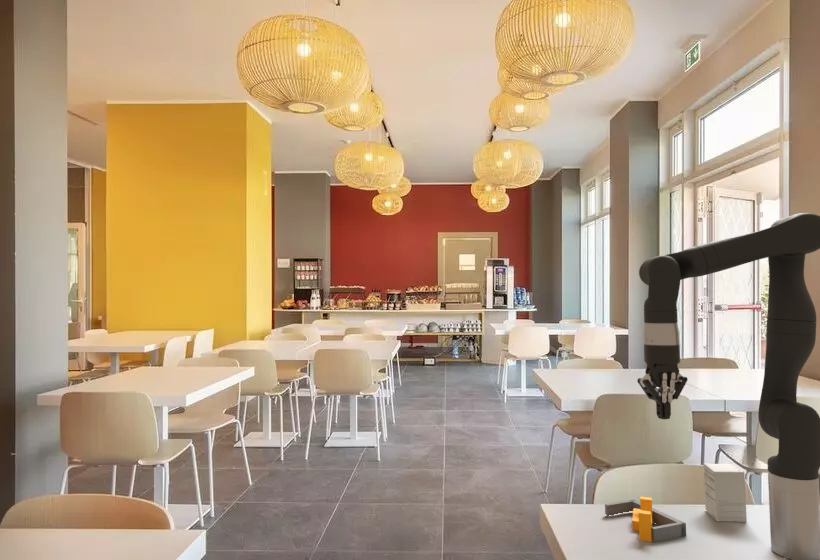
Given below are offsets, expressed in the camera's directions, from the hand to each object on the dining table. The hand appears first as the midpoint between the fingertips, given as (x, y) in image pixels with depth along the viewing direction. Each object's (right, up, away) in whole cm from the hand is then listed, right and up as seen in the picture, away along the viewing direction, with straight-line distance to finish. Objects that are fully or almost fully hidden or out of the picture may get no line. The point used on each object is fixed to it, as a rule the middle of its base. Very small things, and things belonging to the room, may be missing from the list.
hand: (663, 418), depth 124 cm
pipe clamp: (-1, -30, +8) cm, 31 cm away
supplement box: (+24, -30, +16) cm, 41 cm away
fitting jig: (0, -30, +11) cm, 32 cm away
